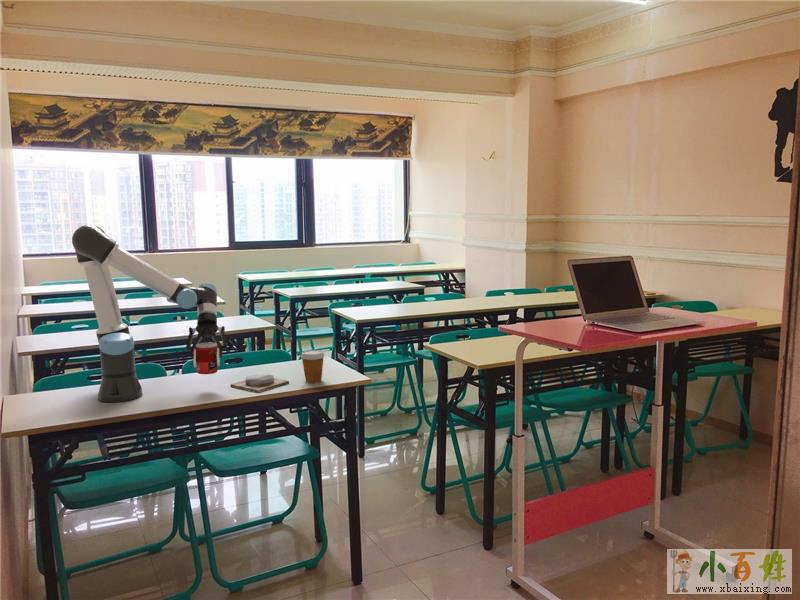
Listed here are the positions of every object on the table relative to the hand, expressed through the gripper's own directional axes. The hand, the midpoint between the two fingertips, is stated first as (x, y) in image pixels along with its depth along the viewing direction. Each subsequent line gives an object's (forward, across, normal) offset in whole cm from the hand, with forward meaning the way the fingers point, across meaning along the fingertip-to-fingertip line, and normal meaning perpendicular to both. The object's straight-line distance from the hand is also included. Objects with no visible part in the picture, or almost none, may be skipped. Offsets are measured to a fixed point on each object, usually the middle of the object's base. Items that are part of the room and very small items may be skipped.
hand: (206, 364), depth 239 cm
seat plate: (+4, -20, -10) cm, 23 cm away
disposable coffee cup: (+4, -41, -10) cm, 42 cm away
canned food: (0, 0, -5) cm, 5 cm away
